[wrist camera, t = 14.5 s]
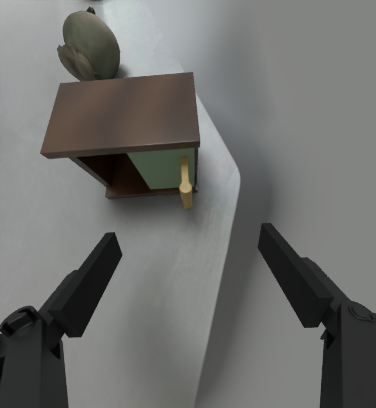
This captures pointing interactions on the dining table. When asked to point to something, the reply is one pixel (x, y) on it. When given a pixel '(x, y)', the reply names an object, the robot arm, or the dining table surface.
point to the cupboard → (123, 127)
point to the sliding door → (167, 170)
